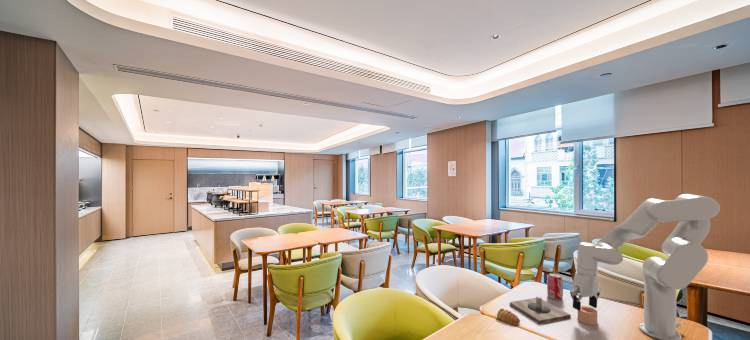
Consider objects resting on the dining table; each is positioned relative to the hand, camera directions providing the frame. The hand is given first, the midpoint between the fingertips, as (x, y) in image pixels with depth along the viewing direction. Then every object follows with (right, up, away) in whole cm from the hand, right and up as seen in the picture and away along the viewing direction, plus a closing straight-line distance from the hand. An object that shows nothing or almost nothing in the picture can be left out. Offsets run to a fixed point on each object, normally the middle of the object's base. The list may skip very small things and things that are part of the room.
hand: (584, 307), depth 130 cm
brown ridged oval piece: (-34, -6, +1) cm, 35 cm away
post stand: (-16, -6, +8) cm, 19 cm away
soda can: (+1, -6, +22) cm, 23 cm away
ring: (+1, -6, 0) cm, 6 cm away
